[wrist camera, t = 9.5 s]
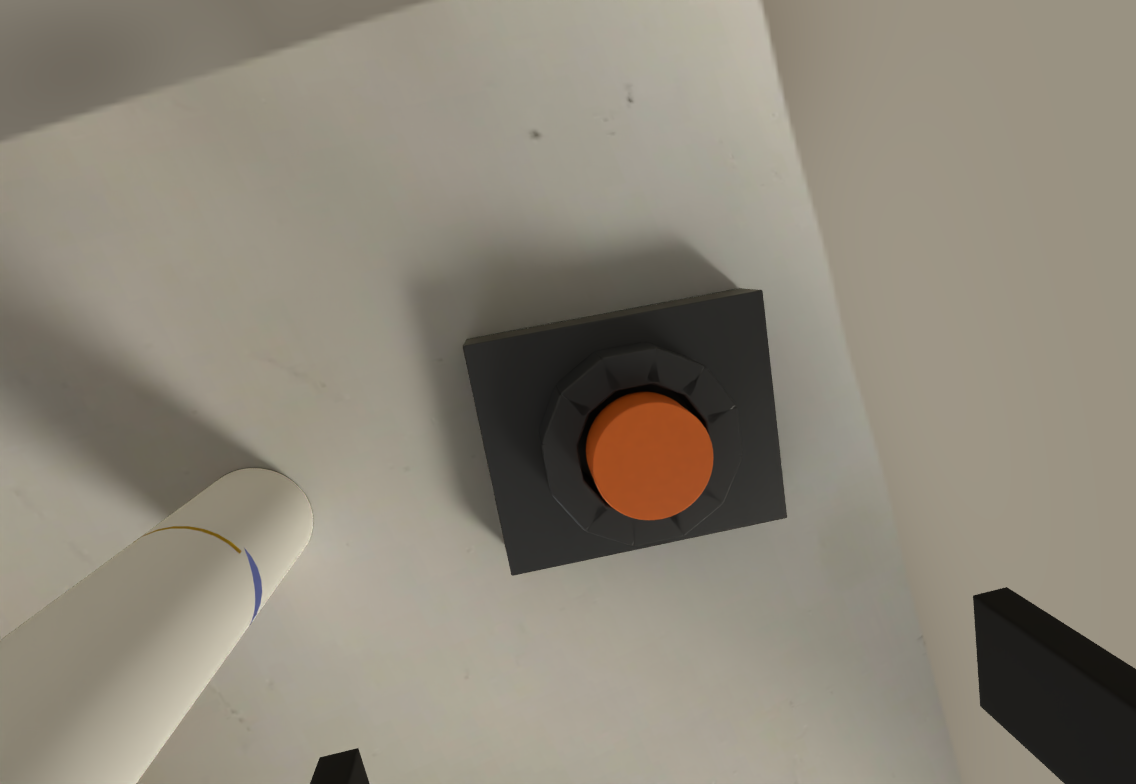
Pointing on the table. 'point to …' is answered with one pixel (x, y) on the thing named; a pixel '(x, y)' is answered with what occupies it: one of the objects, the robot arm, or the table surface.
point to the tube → (144, 634)
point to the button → (649, 456)
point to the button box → (592, 381)
